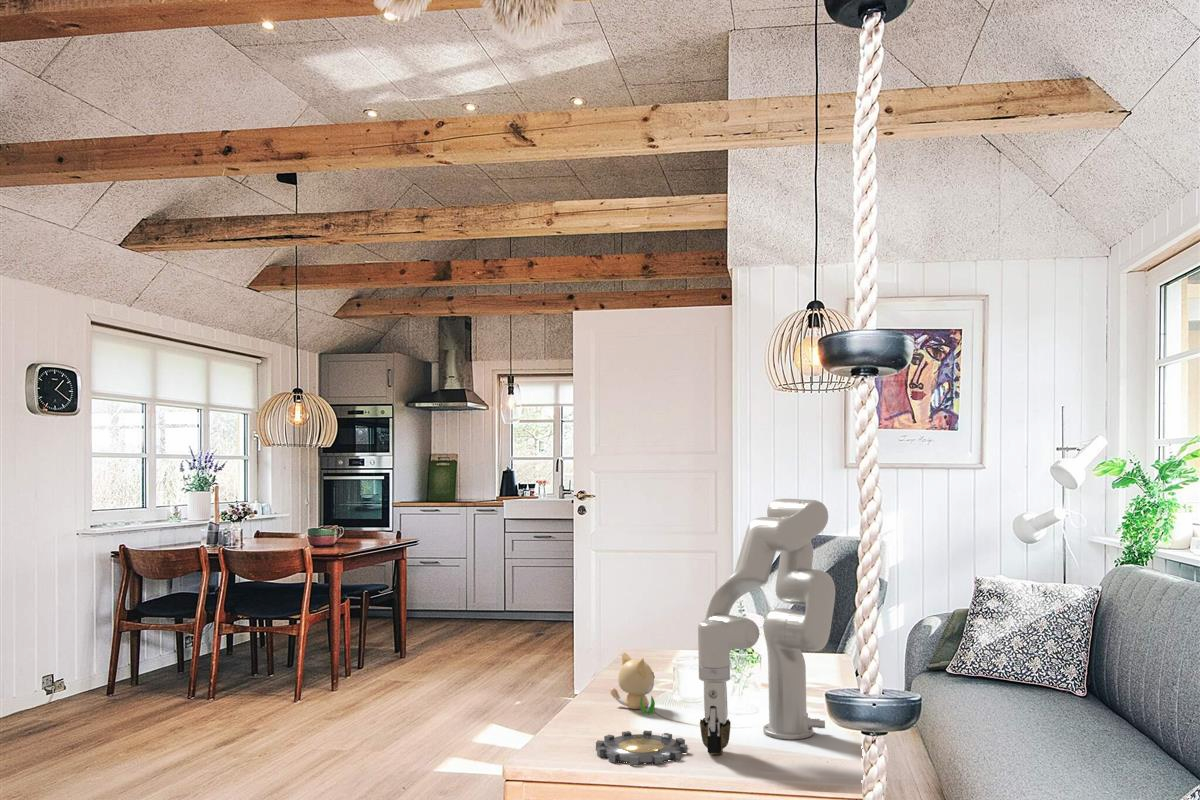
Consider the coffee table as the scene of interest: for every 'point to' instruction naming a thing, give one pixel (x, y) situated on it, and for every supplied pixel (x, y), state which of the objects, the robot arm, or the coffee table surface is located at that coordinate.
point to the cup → (723, 733)
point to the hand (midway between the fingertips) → (715, 747)
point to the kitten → (635, 684)
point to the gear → (641, 748)
